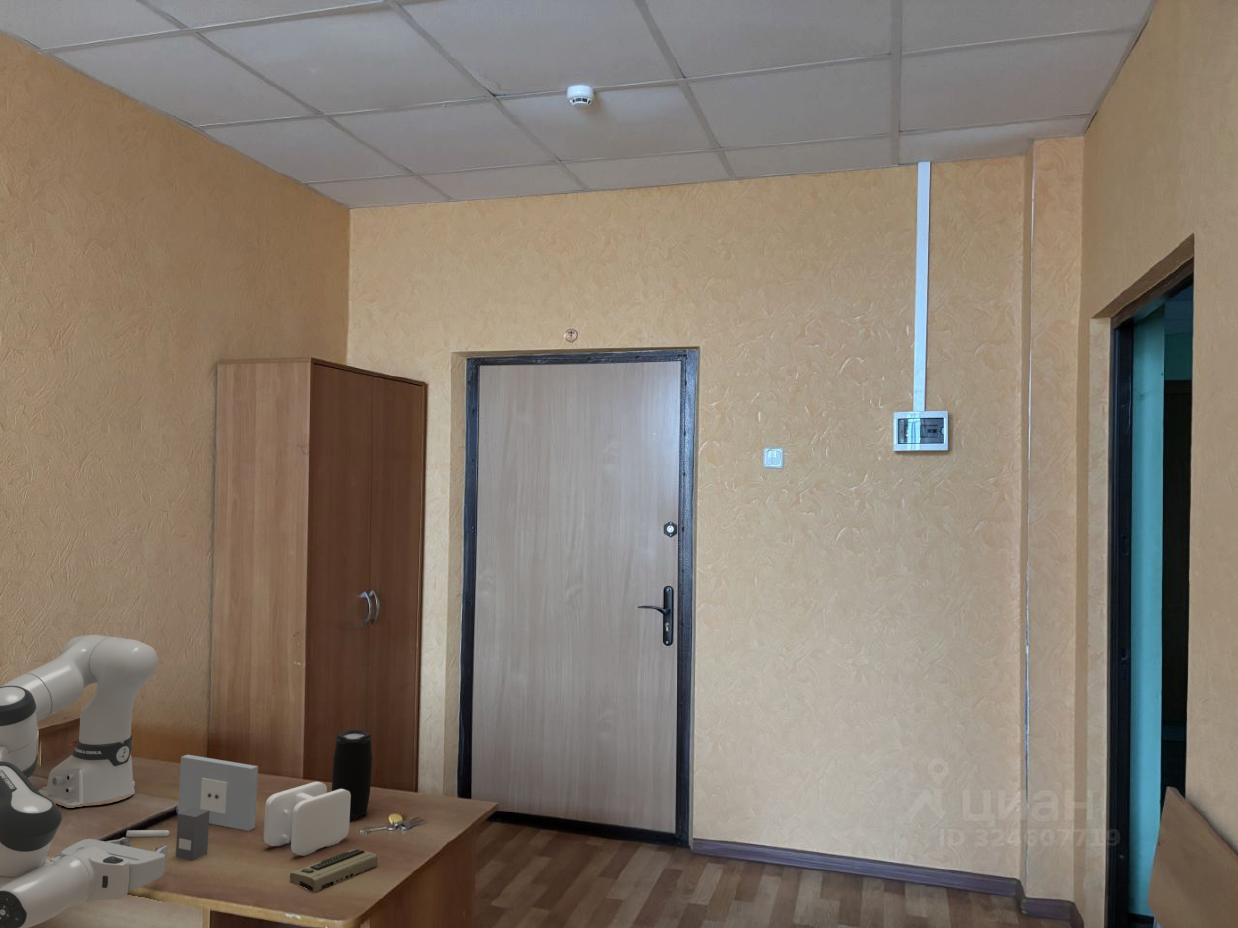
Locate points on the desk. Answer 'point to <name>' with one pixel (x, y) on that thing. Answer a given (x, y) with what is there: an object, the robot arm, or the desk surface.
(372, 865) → the computer
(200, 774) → the outlet plate
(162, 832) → the white rod
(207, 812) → the block
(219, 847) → the desk surface
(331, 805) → the organizer
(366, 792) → the portable speaker
